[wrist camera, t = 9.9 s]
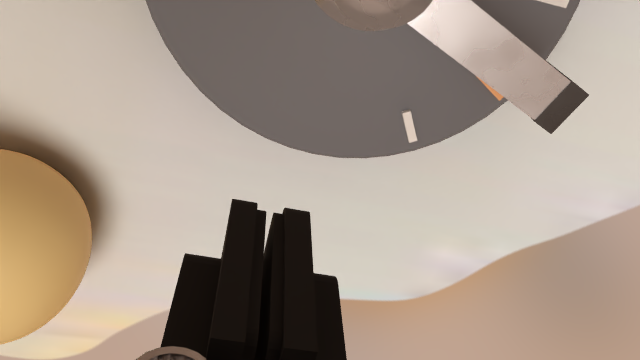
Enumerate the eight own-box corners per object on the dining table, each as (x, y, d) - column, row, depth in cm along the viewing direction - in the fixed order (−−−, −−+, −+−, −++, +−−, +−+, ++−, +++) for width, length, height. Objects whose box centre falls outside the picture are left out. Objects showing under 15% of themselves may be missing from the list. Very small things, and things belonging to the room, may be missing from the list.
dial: (274, -32, 30) (270, -10, 25) (356, -160, 27) (372, -164, 22) (485, 122, 34) (518, 167, 29) (573, 26, 32) (626, 57, 27)
